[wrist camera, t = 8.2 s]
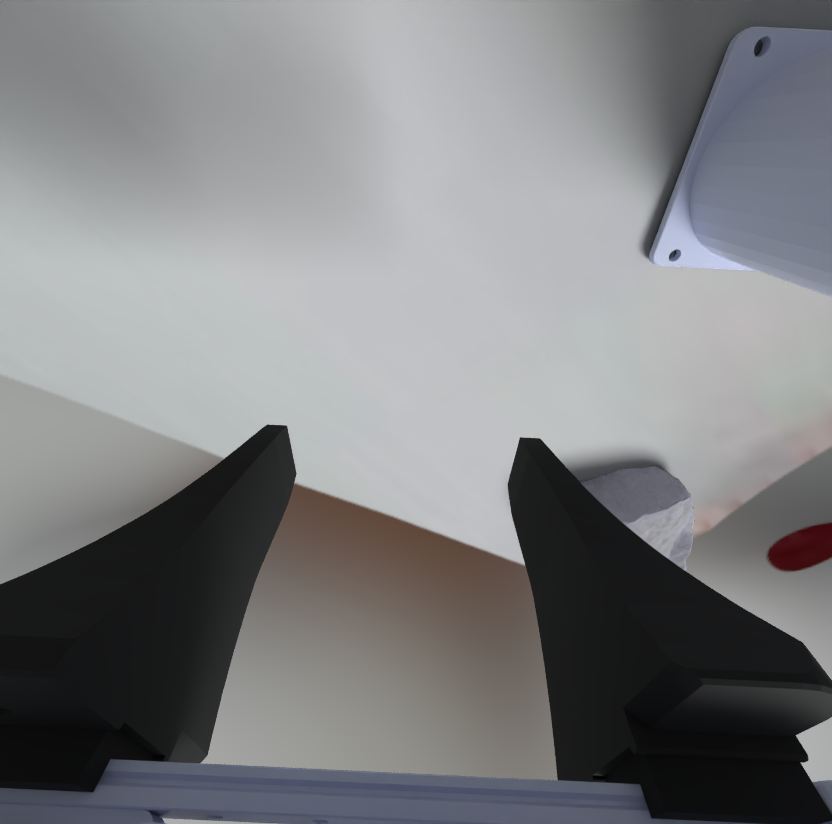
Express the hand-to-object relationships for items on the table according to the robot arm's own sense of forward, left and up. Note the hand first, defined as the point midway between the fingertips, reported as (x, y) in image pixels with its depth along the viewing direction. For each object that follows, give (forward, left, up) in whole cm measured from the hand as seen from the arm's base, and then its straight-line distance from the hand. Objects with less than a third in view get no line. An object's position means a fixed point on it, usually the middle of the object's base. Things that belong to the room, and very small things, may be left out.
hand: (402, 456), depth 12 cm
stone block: (-16, +15, -11) cm, 25 cm away
